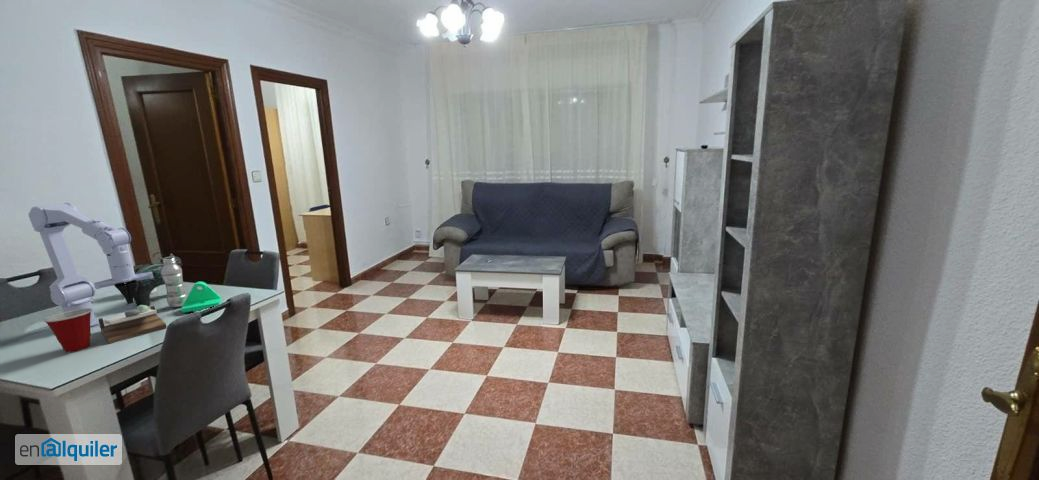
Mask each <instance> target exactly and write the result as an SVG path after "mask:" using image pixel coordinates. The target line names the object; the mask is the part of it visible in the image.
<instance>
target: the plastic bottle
mask: <svg viewBox="0 0 1039 480" xmlns="http://www.w3.org/2000/svg"><path fill="white" fill-rule="evenodd" d="M168 257H169V256H168ZM175 257H176V256H175ZM175 257H169V258H165V257H164V259H163V264H164V267H163V268H162V270H161V275H162V278H163V280H164V283H165V284H164V285H165V288H166V289H165V290H166V296H167V297H166V301H167V302H166V303H167V305H168V306H169V307H170V308H179V307H182V306H183V304H184V302H185V300H186V299H187V297H188V294H187V292H186V289H185V286H184V279H183V269H182V266H181V267H180V266H178V265H177V264H176V263H175V262H176V261H175Z"/></svg>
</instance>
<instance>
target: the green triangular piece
mask: <svg viewBox="0 0 1039 480" xmlns="http://www.w3.org/2000/svg"><path fill="white" fill-rule="evenodd" d="M199 287H200V289H199ZM187 296H188V297H187V299H186V300H185V302H184V304H183V306H181V308H180V309H181V313H189V312H193V313H194V312H196V311H201V310H203V309H207V308H210V307H213V306H216V305H219V304H220V305H221V303H222V297H221V295H219V293H217V292H216V291H215V290H214V289H213V288H212V287H211V286H209V285H208V284H207V283H206V282H204V281H197V282H195V283H194V284H193V286H192V287H191V290H190V291H189V293H188V294H187ZM213 308H214V307H213ZM210 309H211V308H210Z"/></svg>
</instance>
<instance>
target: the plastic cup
mask: <svg viewBox="0 0 1039 480" xmlns="http://www.w3.org/2000/svg"><path fill="white" fill-rule="evenodd" d="M92 308H93V307H92ZM92 308H85V309H78V310H72V311H67V312H63V311H62V312H59V313H56V314H52V315H50V316H47V317H45V318H43V322H44V323H46V325H47V326H48V327H49V329H51V331H52V333H53V335H54V336H55V338H56V340H57V341H58V343H59V344H60V346H61V348H62V349H63V351H64V352H65V353H74V352H79V351H81V350H85V349H87V348H89V347H90V346H91V335H92V334H91V327H90V316H91V311H92Z"/></svg>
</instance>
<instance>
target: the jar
mask: <svg viewBox="0 0 1039 480" xmlns="http://www.w3.org/2000/svg"><path fill="white" fill-rule="evenodd" d="M146 264H147V265H144V266H142V267H140V268H138V267H139V266H141V265H142V264H138V265H133V268H134V271H135V269H136V268H138V269H137V271H138V270H140V269H142V268H144V267H146V266H148V265H150V264H148V263H146ZM137 271H136V272H137ZM136 272H135V273H136ZM157 291H158V287H156V288H154V289H153V290H152V291H151V293H150V295H152V294H155V293H157Z"/></svg>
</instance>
